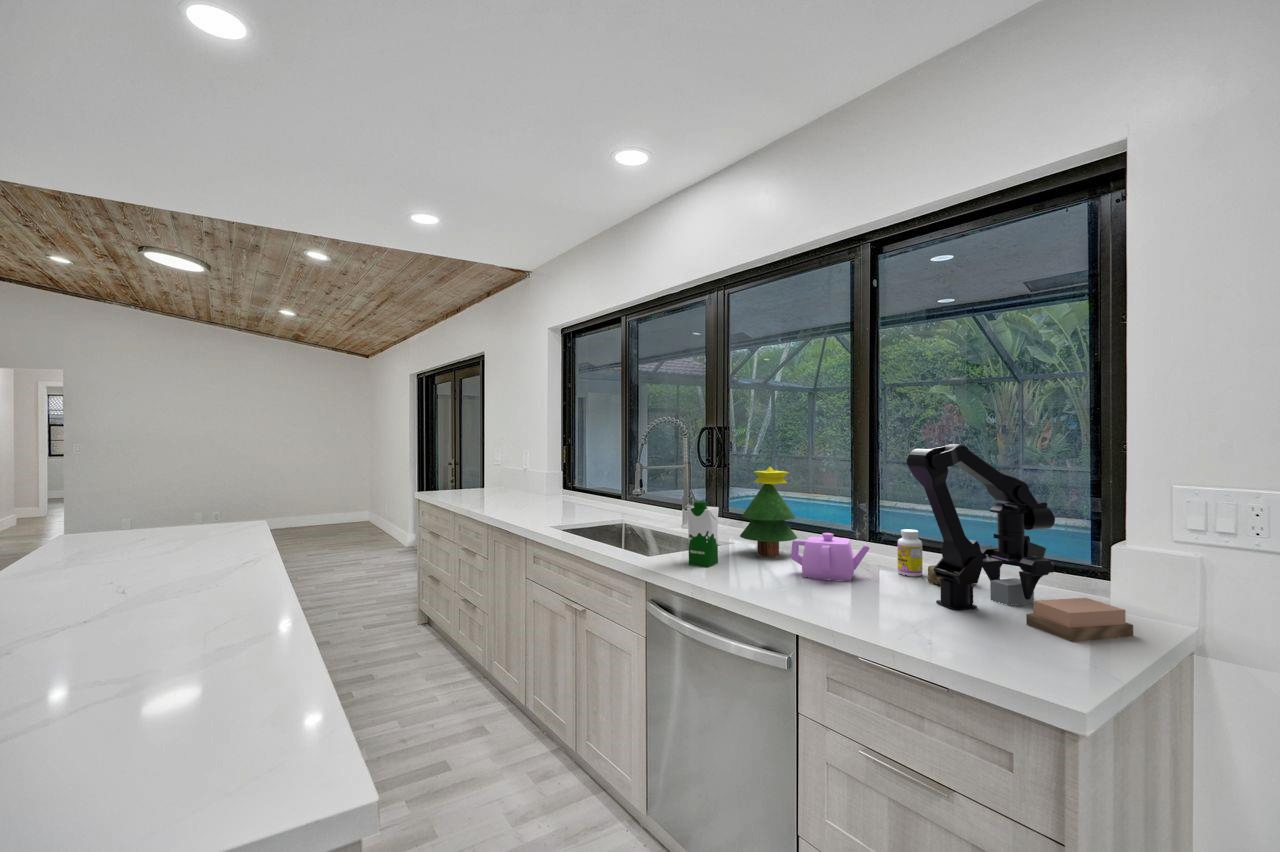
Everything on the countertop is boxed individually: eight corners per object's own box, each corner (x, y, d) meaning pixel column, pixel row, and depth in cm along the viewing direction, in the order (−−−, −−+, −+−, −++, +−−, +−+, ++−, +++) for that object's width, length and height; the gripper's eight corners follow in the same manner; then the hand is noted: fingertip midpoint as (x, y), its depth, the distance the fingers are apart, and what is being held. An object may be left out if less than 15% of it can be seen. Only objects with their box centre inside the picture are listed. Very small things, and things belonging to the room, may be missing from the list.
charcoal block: (1007, 606, 144) (1007, 585, 144) (990, 600, 149) (990, 580, 149) (1033, 603, 146) (1033, 582, 146) (1015, 597, 151) (1015, 578, 151)
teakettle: (786, 572, 179) (786, 531, 179) (831, 566, 186) (830, 527, 186) (825, 585, 163) (825, 540, 163) (872, 579, 170) (872, 535, 170)
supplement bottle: (893, 571, 178) (892, 528, 178) (914, 571, 179) (914, 528, 179) (905, 577, 172) (904, 532, 172) (927, 576, 172) (926, 532, 172)
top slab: (1069, 627, 120) (1069, 613, 120) (1033, 614, 129) (1033, 600, 129) (1125, 624, 122) (1125, 609, 122) (1086, 611, 131) (1086, 597, 131)
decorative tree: (730, 551, 210) (729, 465, 211) (778, 547, 216) (777, 464, 216) (756, 562, 192) (756, 469, 192) (808, 558, 198) (808, 467, 198)
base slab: (1072, 645, 119) (1072, 630, 119) (1026, 627, 130) (1026, 613, 130) (1133, 639, 122) (1133, 624, 122) (1083, 622, 133) (1082, 609, 133)
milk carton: (684, 565, 189) (684, 501, 189) (697, 559, 197) (697, 498, 197) (709, 568, 184) (709, 503, 184) (722, 562, 192) (721, 500, 192)
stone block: (977, 586, 162) (977, 567, 162) (937, 587, 161) (937, 569, 161) (963, 580, 168) (963, 562, 168) (925, 582, 167) (924, 564, 167)
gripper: (1072, 535, 140) (1073, 602, 140) (1007, 523, 158) (1007, 582, 158) (1033, 538, 138) (1034, 605, 137) (971, 525, 156) (972, 585, 156)
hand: (1011, 594), depth 147 cm, fingers open, 9 cm apart
